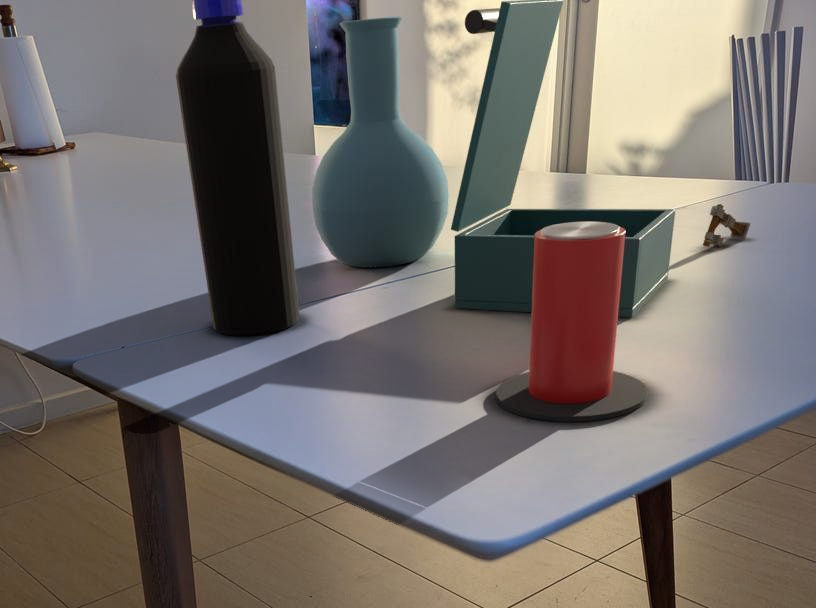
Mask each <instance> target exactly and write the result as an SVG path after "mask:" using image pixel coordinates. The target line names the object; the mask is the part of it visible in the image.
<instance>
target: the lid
mask: <svg viewBox="0 0 816 608" xmlns="http://www.w3.org/2000/svg"><path fill="white" fill-rule="evenodd" d="M563 3H564V0H503V1H501V2H500V7H497V8H496V7H495V8H483V9H482V8H481V9H472V10H470V11H468V12H467V14H466V16H465V18H464V27H465V30H466V31H467V32H468V33H469V34H470V35H479V34H485V33H486V34H487V33H493V37H492V42H491V47H490V51H489V55H488V60H487V65H486V70H485V73H484V78H483V82H482V88H481V92H480V96H479V101H478V105H477V109H476V115H475V118H474V124H473V128H472V132H471V136H470V141H469V146H468V150H467V154H466V159H465V164H464V168H463V172H462V177H461V182H460V186H459V190H458V194H457V198H456V199H457V200H456V204H455V209H454V213H453V218H452V221H451V226H450V230H451V231H454V232H457V233H458V232H459V233H460V231H462V230H464V229H467V228H469V227H470V226H472V225H474V224H476V223H479V222H480V221H482V220H484V219H486V218H489V217H491V216H492V215H493V214H494V215H495V214H496V213H499V212H501V210H502V211H503V210H505V209H506V208H507V207H510V206H511V204H512V201H513V197H514V193H515V190H516V185H517V181H518V177H519V174H520V170H521V166H522V162H523V158H524V154H525V150H526V147H527V143H528V138H529V135H530V131H531V127H532V124H533V120H534V115H535V111H536V107H537V104H538V100H539V95H540V92H541V89H542V86H543V85H542V84H543V81H544V78H545V73H546V69H547V66H548V61H549V58H550V53H551V50H552V46H553V42H554V38H555V34H556V31H557V26H558V23H559V19H560V15H561V12H562V7H563Z"/></svg>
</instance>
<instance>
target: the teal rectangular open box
mask: <svg viewBox="0 0 816 608" xmlns="http://www.w3.org/2000/svg"><path fill="white" fill-rule="evenodd" d="M675 217H676V209H675V208H505V209H503V210H502V211H499V212H497V214H496V213H495V214H494V215H493V216H492V215H491V216H490V217H488V218H487V219H485V220H483V221H481V222H478V223H477V224H475V225H473V226H471V227H468V228H466V229H465V230H464V231H462V232H459V233H458V234H455V235H454V308H455V309H463V310H479V311H480V310H483V311H484V310H485V311H503V312H517V313H518V312H520V313H532V289H533V263H534V237H535V233H536V232H537V231H539V230H542V229H543V228H545V227H548V226H551V225H556V224H561V223H570V222H606V223H612V224H616V225H618V226H619V227H622V228H624V229H625V242H624V253H623V264H622V275H621V287H620V298H619V309H618V318H628V319H629V318H633V317H634V316H635V315H636V314H637V313H638V312H639V311H640V310H641V309H642V308H643V307H644V305H646V303H647V302H648V301H649V300H650V299H651V298H652V297H653V296H654V295H655V294H656V293H657V292H658V291H659V290H660V289H661V288H662V287H663V286H664V284H666V283H667V282H668V279H669V270H670V261H671V254H672V253H671V252H672V244H673V235H674V227H675V220H676V219H675Z"/></svg>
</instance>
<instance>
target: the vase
mask: <svg viewBox="0 0 816 608" xmlns="http://www.w3.org/2000/svg"><path fill="white" fill-rule="evenodd" d="M403 19H404V17H403V16H400V15H399V16H388V17H387V16H386V17H378V18H377V17H376V18H366V19H365V18H364V19H355V20H347V21H341V22H339V26H340V27H341V29H342V30H343V31H344V32H345V52H346V53H345V57H346V69H347V82H348V94H349V95H348V96H349V103H350V121H349V123H348V125H347V126H346V128H345V130H344V131H343V132H342V133H341V134H340V135H339V137H337V138H336V139H335V140H334V141H333V142H332V144H331V145H330V146H329V148H328V149H327V150H326V152H325V153H324V154H323V156H322V158H321V159H320V162H319V164H318V166H317V169H316V171H315V176H314V178H313V179H314V180H313V183H312V184H313V185H312V187H311V206H312V212H313V219H314V225H315V227H316V230H317V232H318V234H319V236H320V238H321V240H322V242H323V244H324V245H325V247H326V248H327V250H328V251H329V253H330V254H331V256H333V257H334V258H335V259H337V260H338V261H339V262H341V264H344V265H347V266H350V267H354V268H355V267H357V268H385V267H386V268H387V267H388V268H389V267H394V266H401V265H405V264H409V263H412V262H415V261H417V260H419V259H421V258H422V257H424V256H425V255H426V254H427V253H428V252H429V251H430V250H431V249H432V248H434V246H435V245H436V242H437V240H438V239H439V237H440V235H441V233H442V231H443V229H444V227H445V226H444V225H445V224H446V220H447V218H448V213H449V201H450V200H449V199H450V194H449V183H448V178H447V175H446V173H445V170H444V167H443V163H442V162H441V160H440V159H439V157H438V156H437V153H436V152H435V151H434V149H433V148H432V147H431V145H429V144H428V142H426V140H425V139H424V138H423V137H422V136H421V135H420V134H418V133H417V132H415V131H414V130H412V129H411V128H410V127H409V126H408V125H407V123H405V121H404V120H403V118H402V115H401V111H400V47H399V46H400V45H399V32H398V28H399V26H400V24H401V22H402V20H403Z"/></svg>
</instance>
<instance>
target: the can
mask: <svg viewBox="0 0 816 608" xmlns="http://www.w3.org/2000/svg"><path fill="white" fill-rule="evenodd" d="M624 242H625V229H624V228H622V227H619V226H618V225H616V224H612V223H606V222H570V223H561V224H556V225H551V226H548V227H545V228H543V229H542V230H539V231H537V232H536V233H535V237H534V263H533V289H532V312H531V317H530V318H531V319H530V321H531V322H530V340H529V341H530V342H529V343H530V344H529V368H528V369H529V370H528V372H529V393H530V394H531V395H532V396H533V397H535V398H537V399H539V400H542V401H546V402H551V403H560V404H578V403H587V402H592V401H596V400H599V399H602V398H604V397H606V396H608V395H609V394H610V392H611V387H612V376H613V371H614V364H615V354H616V353H615V352H616V342H617V331H618V320H619V317H618V309H619V298H620V287H621V275H622V264H623V253H624Z"/></svg>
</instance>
